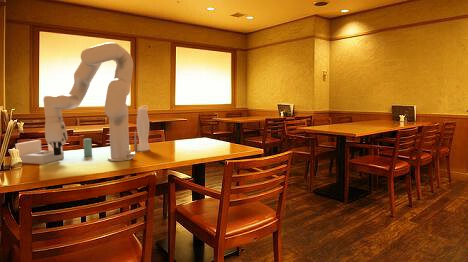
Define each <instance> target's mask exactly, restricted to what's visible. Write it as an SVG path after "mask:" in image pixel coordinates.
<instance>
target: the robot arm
mask: <svg viewBox="0 0 468 262" xmlns="http://www.w3.org/2000/svg"><path fill="white" fill-rule="evenodd" d="M80 60H81V62H80V64H79V65H78V67H77V69H76V70H75V72H73V85H72V88H71V90H70V91H69V93H68V94H61V95H45V96H44V97H43V100H42V101H43V108H44V116H45V117H44V119H45V122H44V137H45V140H46V144H47V145H48V144H50V145H51V146H52V148H53V149H54V155H61V147H62V148H63V146H64V144H67V141H68V140H69V139H68V132H67V131H68V130H67V128H66V127H67V126H66V124H65V122H64V117H63V113H62V112H63V111H62V110H73V109H77V108H78V107H79V106H80V104H81V103H82V102H83V100H84V98H85V97H86V95H87V93H88V90H89V87H90V85H91V82H92V81H93V79H94V77H95V76H96V74H97V72H98V71H99V69H100V68H101V66H102V64H103V63H106V62H109V61H110V62H111V61H113V62H115V64H116V66H115V71H114V79H112V80H111V81H110V82H109V84H108V86H107V91H106V94H105V95H106V96H105V97H106V98H105V101H104V113H105V116H107V117H108V118H109V121H108V122H109V123H108V125H109V127H108V129H109V145H110V156H108V157H107V161H110V162H124V161H130V160H132V159H133V157H136V154H137V153H136V152H132V149H130V136H129V135H130V133H129V132H130V131H129V130H130V129H129V107H128V104H127V103H126V102H127V99H128V98H127V96H129V94H130V92H131V85H132V81H133V80H132V77H133V70H134V61H133V57H132V55H131V54H130V53H129V51H128V50H126V49H125V48H124V47H122V46H121V44H119V43H117V42H113V41H111V42H105V43H101V44H97V45H95V46H91V47H87V48H85V49H84V50H82V51H81V53H80Z"/></svg>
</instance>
